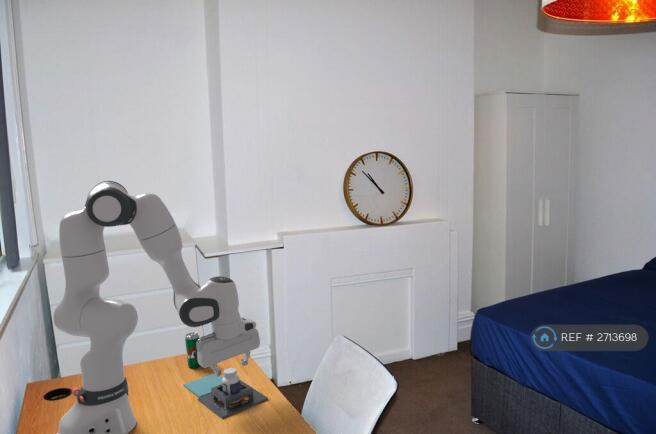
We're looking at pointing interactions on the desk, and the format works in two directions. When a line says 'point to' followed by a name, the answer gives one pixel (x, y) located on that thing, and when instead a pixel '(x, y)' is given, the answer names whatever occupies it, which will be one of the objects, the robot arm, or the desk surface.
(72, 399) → the desk surface
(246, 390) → the square frame
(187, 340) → the soda can
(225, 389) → the pill bottle
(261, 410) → the desk surface
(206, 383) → the mat
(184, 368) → the desk surface
